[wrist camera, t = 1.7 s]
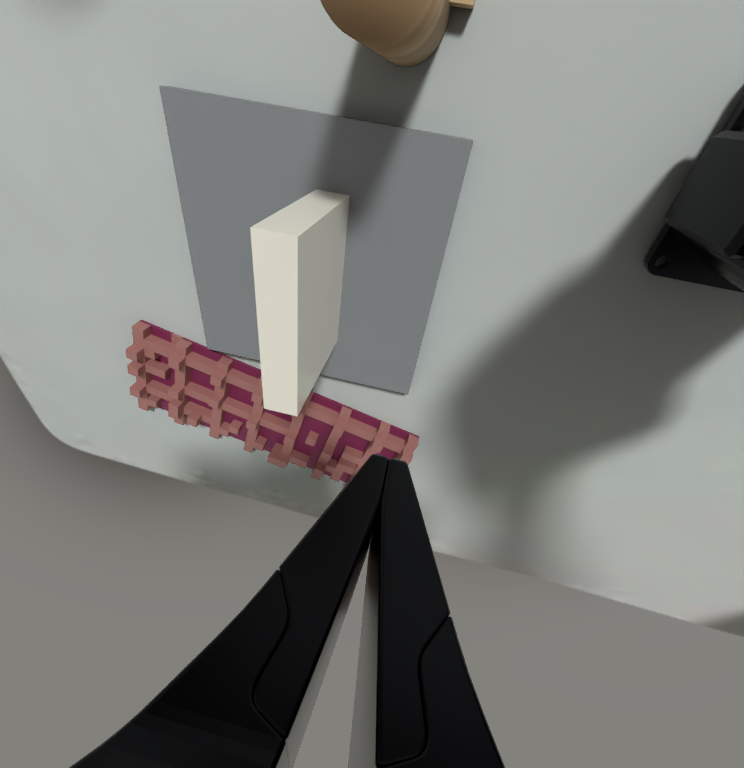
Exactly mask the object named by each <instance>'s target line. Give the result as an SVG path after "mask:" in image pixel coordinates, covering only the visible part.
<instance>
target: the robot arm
mask: <svg viewBox="0 0 744 768" xmlns="http://www.w3.org/2000/svg"><path fill="white" fill-rule="evenodd" d="M665 217H666V221H667V222H666V224H665V225H664V227H663V229H662V230H661V232H660V234H659V235H658V237H657V238H656V240H655V242H654V243H653V245H652V247H651V248H650V250H649V252H648V253H647V255H646V257H645V259H644V267H645V268H646V270H647V271H649V272H650V273H651V274H654V275H657V276H662V277H667V278H673V279H678V280H683V281H688V282H693V283H698V284H703V285H708V286H714V287H719V288H724V289H729V290H734V291H739V292H744V95H743V97H742V99H741V100H740V102H739V104H738V105H737V107H736V109H735V110H734V112H733V113H732V115H731V117H730V118H729V120H728V122H727V123H726V125H725V127H724V128H723V130H722V132H720V133H719V134H717V135H716V136H714V137H713V138H712V139H711V140H710V142H709V143H708V145H707V147H706V148H705V150H704V152H703V153H702V155H701V157H700V158H699V160H698V162H697V163H696V165H695V167H694V168H693V170H692V172H691V173H690V175H689V177H688V178H687V180H686V182H685V183H684V185H683V187H682V188H681V190H680V192H679V193H678V195H677V197H676V198H675V200H674V202H673V203H672V205H671V207H670V208H669V210H668V212H667V213H666V216H665ZM662 256H666V259H665V261H664V262H663V263H662V264H660V265H657V266H655V262H656V261H657V260H658V259H659V258H660V257H662ZM370 541H371V542H370ZM369 544H370V548H369ZM368 548H369V556H368V566H367V576H366V586H365V597H364V607H363V617H362V629H361V638H360V648H359V660H358V670H357V680H356V690H355V700H354V711H353V721H352V732H351V742H350V753H349V763H348V768H505V766H504V764H503V762H502V759H501V756H500V754H499V751H498V749H497V746H496V744H495V741H494V738H493V736H492V733H491V731H490V729H489V726H488V723H487V721H486V718H485V716H484V713H483V710H482V708H481V705H480V702H479V700H478V697H477V694H476V691H475V689H474V686H473V683H472V680H471V678H470V675H469V672H468V669H467V666H466V663H465V659H464V656H463V653H462V650H461V647H460V644H459V641H458V637H457V634H456V630H455V627H454V623H453V620H452V618H451V617H448V616H449V615H450V610H449V607H448V603H447V600H446V596H445V593H444V589H443V586H442V582H441V579H440V575H439V572H438V568H437V565H436V562H435V558H434V555H433V551H432V548H431V544H430V541H429V537H428V534H427V530H426V527H425V523H424V520H423V516H422V513H421V509H420V506H419V502H418V499H417V495H416V492H415V488H414V485H413V482H412V478H411V475H410V471H409V468H408V465H407V463H406V462H405V461H403V460H398V459H394V458H391V459H388V457H386V456H382V455H378V454H372V455H371V456H370V457H369V458H368V459H367V461H366V462H365V463H364V464H363V465H362V467H361V468H360V469H359V470H358V471H357V473H356V474H355V475H354V476H353V478H352V479H351V480H350V481H349V482H348V484H347V485H346V486H345V487H344V489H343V490H342V491H341V492H340V493H339V495H338V496H337V497H336V498H335V500H334V501H333V502H332V503H331V504H330V506H329V507H328V508H327V509H326V510H325V512H324V513H323V514H322V515H321V517H320V518H319V519H318V520H317V522H316V523H315V524H314V525H313V526H312V528H311V529H310V530H309V531H308V533H307V534H306V535H305V536H304V537H303V539H302V540H301V541H300V542H299V543H298V545H297V546H296V547H295V548H294V549H293V551H292V552H291V553H290V555H289V556H288V557H287V558H286V559H285V561H284V562H283V563H282V564H281V565H280V567H279V570H276V571H275V572H274V574H273V575H272V576H271V577H270V579H269V580H268V581H267V582H266V583H265V585H264V586H263V587H262V588H261V589H260V591H259V592H258V593H257V594H256V595H255V596H254V597H253V598H252V600H251V601H250V602H249V603H248V604H247V605H246V607H245V608H244V609H243V610H242V611H241V612H240V613H239V614H238V615H237V616H236V617H235V618H234V619H233V620H232V621H231V622H230V623H229V625H228V626H227V627H225V629H224V630H223V631H222V632H221V633H220V634H219V635H218V636H217V637H216V638H215V639H214V640H213V641H212V642H211V643H210V644H209V645H208V646H207V647H206V648H205V649H204V650H203V651H202V652H201V653H200V654H198V655H197V657H196V658H195V659H193V660H192V662H190V663H189V664H188V665H187V666H186V667H185V668H184V669H183V670H182V671H181V672H180V673H179V674H178V675H177V676H176V677H175V678H174V679H173V680H172V681H171V682H170V683H169V684H168V685H167V686H166V687H165V688H164V689H163V690H162V691H161V692H160V693H159V694H158V695H157V696H156V697H155V698H154V699H153V700H152V701H151V702H150V703H149V704H148V705H146V706H145V707H144V708H143V709H142V710H141V711H140V712H139V713H138V714H137V715H136V716H135V717H133V718H132V719H131V720H130V721H129V722H128V723H127V724H125V725H124V726H123V727H122V728H121V729H120V730H119V731H117V732H116V733H115V734H114V735H112V736H111V737H110V738H109V739H107V740H106V741H105V742H104V743H102V744H101V745H100V746H98V747H97V748H96V749H94V750H93V751H92V752H90V753H89V754H87V755H86V756H85V757H83V758H82V759H80V760H79V761H78V762H76V763H75V764H73V765H72V766H71V767H69V768H293V765H294V763H295V760H296V757H297V754H298V751H299V748H300V745H301V742H302V739H303V736H304V734H305V731H306V728H307V725H308V722H309V719H310V716H311V714H312V711H313V708H314V705H315V702H316V699H317V696H318V693H319V690H320V687H321V685H322V682H323V679H324V676H325V673H326V670H327V667H328V665H329V662H330V658H331V656H332V653H333V650H334V647H335V644H336V641H337V639H338V636H339V633H340V630H341V627H342V624H343V621H344V618H345V615H346V613H347V610H348V606H349V604H350V601H351V598H352V595H353V592H354V589H355V587H356V584H357V581H358V578H359V575H360V572H361V569H362V566H363V563H364V561H365V558H366V554H367V551H368Z"/></svg>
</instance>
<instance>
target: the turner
mask: <svg viewBox="0 0 744 768" xmlns="http://www.w3.org/2000/svg"><path fill="white" fill-rule="evenodd" d="M474 2H475V0H321V3H322V5H323V7H324V8H325V10H326V12H327V14H328V15H329V17H330V18H331V20H332V21H333V22H334V23H335V24H336V25H337V27H338V28H340V29H341V30H342V31H343V32H344V33H346V34H347V35H349V36H350V37H352V38H353V39H355V40H356V41H358V42H360V43H361V44H363V45H364V46H366V47H368V48H369V49H371V50H372V51H374V52H376V53H377V54H379V55H380V56H382V57H384V58H385V59H387V60H388V61H390V62H392V63H394V64H396V65H399V66H406V67H407V66H413V65H417V64H419V63H421V62H423V61H424V60H426V59H427V58H428V57H429V56H430V55H431V54H432V53H433V52H434V51H435V50H436V48H437V47H438V45H439V44H440V42H441V40H442V38H443V36H444V33H445V30H446V28H447V24H448V19H449V12H450V6H454V7H461V8H468V9H473V7H474Z"/></svg>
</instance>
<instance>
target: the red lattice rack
mask: <svg viewBox="0 0 744 768" xmlns="http://www.w3.org/2000/svg"><path fill="white" fill-rule="evenodd" d="M132 331H133V343H134V344H132V345H131V346H130V347H128V348H127V349H126V357H127V358H129V359H131V360H133V361H132V362H131V363H130V364H129V365H127V366H128V373H129V374H132V375H134V376H136V379H137V382H136V383H134V384H133V385H132V386H131V387H130V395H133V396H135V397H138V403H139V408H141V409H144V410H146V411H148V410H149V409H150V408H151V407H154V408H156V409H157V408H158V407H160V408H162V409H165V410H167V411H168V413H169V416H170V417H172V418H174V422H176V423H179V424H181V425H184V424H185V423H186V421H187V424H190V425H192V426H195V427H197V426H198V424H199V423H200V424H202V425H205V426H207V427H210V434H209V436H211V437H214V438H216V439H218V438H219V437H220V436H221V435H223V436H226V437H228V436H232V437H234V438H237V439H239V440H242V441H244V442H245V446H244V450H246V451H249V452H251V453H252V452H253V451H254V449H255V448H256V449H258V450H261V451H263V449H264V450H267V451H269V452H271V453H270V454H269V456H268V460H267V462H270V463H272V464H275V465H277V466H280V467H282V468H285V466H286V465H287V463H288V462H291V463H293V464H296V465H298V466H301V467H303V468H305V467H306V466H307V467H309V468H312V469H314V470H313V473H312V475H311V477H314V478H316V479H320V477H322V475H323V473H324V474H327V475H329V476H331V477H330V478H331V479H333V480H336V481H339V480H342V481H344V482H346V485H347V484H348V482H349V481H350V480H351V479H352V478H353V476H354V475H355V474H356V473H357V471H358V470H359V469H360V468H361V467H362V465H363V464H364V463H365V462H366V461H367V459H368V458H369V457H370V456H371V455H372V454H378V455H382V456H386V457H388V459H391V458H394V459H398V460H403V461H405V462H406V463H407V465H408V464H409V463H410V462H411V460H412V458H413V451H414V450H415V449H416V447H417V446H418V440H419V436H416V435H414V434H412V433H409V432H407V431H405V430H402V429H400V428H397V427H395V426H393V425H390V424H388V423H386V422H383V421H381V420H378V419H376V418H374V417H371V416H369V415H367V414H364V413H362V412H359V411H357V410H355V409H352V408H350V407H348V406H345V405H343V404H340V403H338V402H336V401H333V400H331V399H329V398H326V397H324V396H321V395H319V394H317V393H314V392H312V391H311V392H310V394H309V395H308V397H307V399H306V401H305V403H304V405H303V407H302V409H301V411H300V412H299V414H298V416H293V415H289V414H285V413H281V412H276V411H272V410H268V409H264V402H263V389H262V376H261V370H260V369H257V368H255V367H252V366H250V365H248V364H245V363H243V362H241V361H238V360H236V359H233V358H231V357H229V356H226V355H224V354H222V353H219V352H217V351H214V350H211V349H208V348H207V347H205V346H203V345H200V344H198V343H195V342H193V341H191V340H188V339H186V338H184V337H181V336H179V335H176V334H174V333H172V332H169V331H167V330H165V329H162V328H160V327H157V326H155V325H153V324H150V323H148V322H146V321H143V320H141V321H139V322H138V323H136V324H135V325H133V326H132ZM346 485H345V486H346Z"/></svg>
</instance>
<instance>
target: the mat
mask: <svg viewBox="0 0 744 768" xmlns="http://www.w3.org/2000/svg"><path fill="white" fill-rule="evenodd" d="M159 87H160V92H161V97H162V103H163V108H164V114H165V119H166V125H167V130H168V136H169V141H170V146H171V152H172V157H173V163H174V168H175V174H176V179H177V185H178V190H179V195H180V201H181V206H182V212H183V217H184V223H185V228H186V234H187V239H188V245H189V250H190V255H191V261H192V266H193V272H194V277H195V283H196V288H197V294H198V299H199V304H200V310H201V315H202V321H203V326H204V332H205V337H206V343H207V348H208V349H211V350H215V351H220V352H224V353H229V354H233V355H237V356H242V357H246V358H250V359H255V360H259V361H260V350H259V337H258V324H257V311H256V297H255V284H254V271H253V258H252V245H251V232H250V227H252V226H253V225H255V224H257V223H259V222H260V221H262V220H264V219H266V218H267V217H269V216H271V215H273V214H274V213H276V212H278V211H280V210H281V209H283V208H285V207H287V206H288V205H290V204H292V203H294V202H295V201H297V200H299V199H301V198H302V197H304V196H306V195H308V194H309V193H311V192H313V191H315V190H316V189H318V190H323V191H328V192H334V193H339V194H344V195H349V196H350V198H349V210H348V222H347V234H346V245H345V257H344V269H343V281H342V293H341V305H340V317H339V329H338V341H337V343H336V344H335V346H334V348H333V350H332V352H331V354H330V356H329V358H328V360H327V361H326V363H325V365H324V367H323V369H322V371H321V373H320V375H325V376H329V377H333V378H338V379H342V380H347V381H351V382H355V383H360V384H364V385H368V386H373V387H377V388H382V389H386V390H390V391H395V392H399V393H403V394H408V393H409V389H410V385H411V381H412V377H413V373H414V370H415V366H416V362H417V358H418V354H419V350H420V346H421V342H422V338H423V334H424V331H425V327H426V323H427V319H428V315H429V311H430V307H431V303H432V299H433V295H434V292H435V288H436V284H437V280H438V276H439V272H440V268H441V264H442V260H443V256H444V253H445V249H446V245H447V241H448V237H449V233H450V229H451V225H452V221H453V217H454V213H455V210H456V206H457V202H458V198H459V194H460V190H461V186H462V182H463V178H464V174H465V171H466V167H467V163H468V159H469V155H470V151H471V147H472V143H473V140H471V139H465V138H459V137H454V136H448V135H442V134H437V133H431V132H425V131H420V130H414V129H408V128H402V127H397V126H391V125H385V124H380V123H374V122H368V121H363V120H357V119H351V118H346V117H340V116H334V115H328V114H323V113H317V112H311V111H306V110H300V109H294V108H289V107H283V106H277V105H272V104H266V103H260V102H254V101H249V100H243V99H237V98H232V97H226V96H220V95H215V94H209V93H203V92H198V91H192V90H186V89H181V88H175V87H169V86H159Z"/></svg>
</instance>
